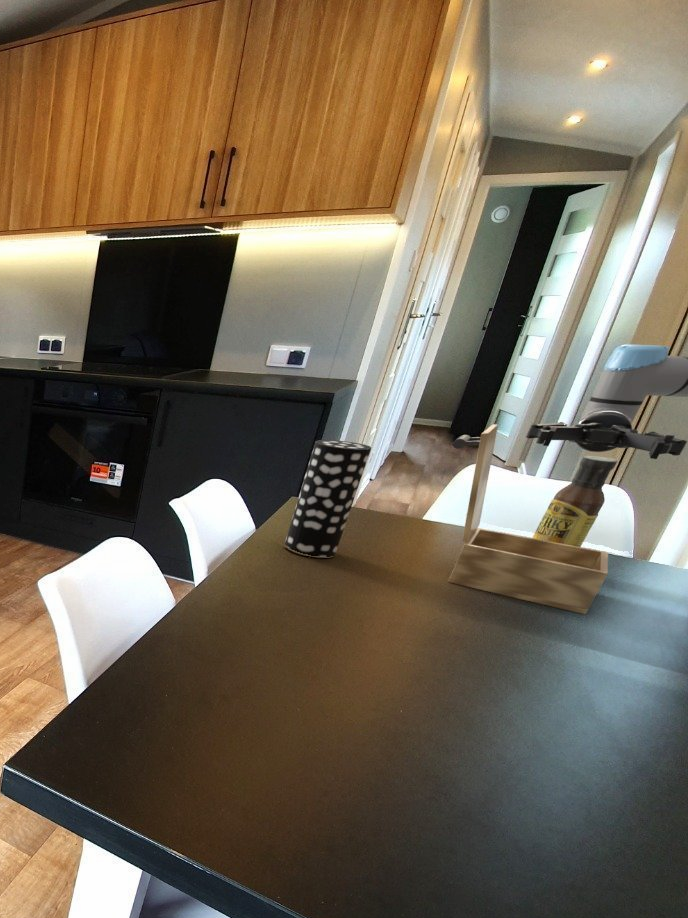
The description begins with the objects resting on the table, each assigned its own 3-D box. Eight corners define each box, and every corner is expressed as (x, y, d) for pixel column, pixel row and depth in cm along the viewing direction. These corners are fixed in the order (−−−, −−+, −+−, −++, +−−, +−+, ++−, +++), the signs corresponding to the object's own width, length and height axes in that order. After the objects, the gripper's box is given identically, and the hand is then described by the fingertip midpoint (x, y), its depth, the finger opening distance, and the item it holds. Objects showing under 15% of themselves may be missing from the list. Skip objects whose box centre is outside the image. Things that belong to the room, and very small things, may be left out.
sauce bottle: (511, 560, 117) (561, 452, 109) (544, 561, 117) (597, 453, 109) (543, 573, 112) (599, 461, 103) (578, 574, 112) (637, 462, 103)
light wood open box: (587, 590, 105) (608, 552, 102) (585, 614, 96) (607, 573, 93) (460, 562, 116) (475, 527, 113) (447, 582, 107) (464, 544, 104)
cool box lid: (498, 424, 107) (463, 425, 110) (488, 433, 98) (451, 434, 102) (479, 525, 112) (446, 523, 115) (468, 541, 104) (433, 539, 107)
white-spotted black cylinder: (344, 559, 116) (383, 450, 108) (299, 558, 116) (334, 448, 108) (317, 544, 124) (351, 440, 115) (274, 543, 124) (305, 439, 115)
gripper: (686, 460, 119) (695, 478, 106) (511, 440, 136) (499, 453, 122) (709, 420, 116) (721, 433, 103) (527, 403, 132) (517, 413, 119)
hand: (601, 444), depth 112 cm, fingers open, 13 cm apart
